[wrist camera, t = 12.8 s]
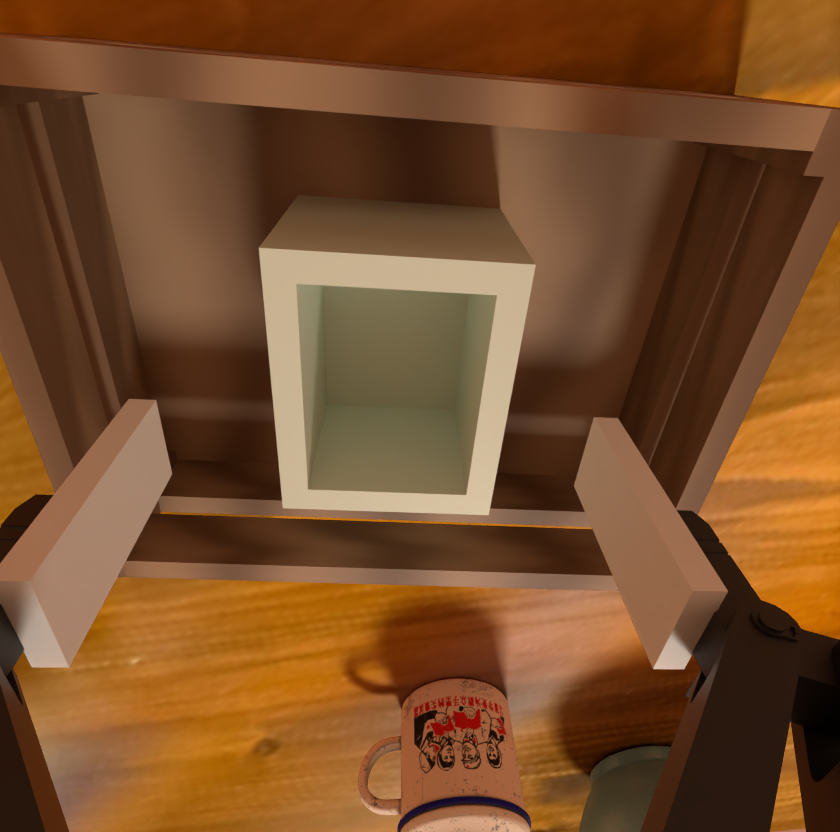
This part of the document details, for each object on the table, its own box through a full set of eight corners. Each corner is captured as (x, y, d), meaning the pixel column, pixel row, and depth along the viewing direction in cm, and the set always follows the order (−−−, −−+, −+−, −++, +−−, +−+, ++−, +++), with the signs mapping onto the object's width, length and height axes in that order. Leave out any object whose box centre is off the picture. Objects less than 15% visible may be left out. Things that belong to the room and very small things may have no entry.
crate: (158, 459, 30) (87, 576, 23) (56, 35, 19) (-126, 25, 13) (605, 477, 31) (660, 592, 25) (734, 95, 21) (890, 114, 14)
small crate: (309, 409, 27) (283, 508, 21) (298, 195, 21) (258, 247, 16) (470, 416, 27) (488, 515, 21) (500, 208, 22) (535, 264, 16)
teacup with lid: (514, 671, 42) (547, 858, 32) (507, 732, 47) (534, 909, 37) (357, 677, 42) (343, 866, 32) (367, 738, 47) (357, 917, 37)
